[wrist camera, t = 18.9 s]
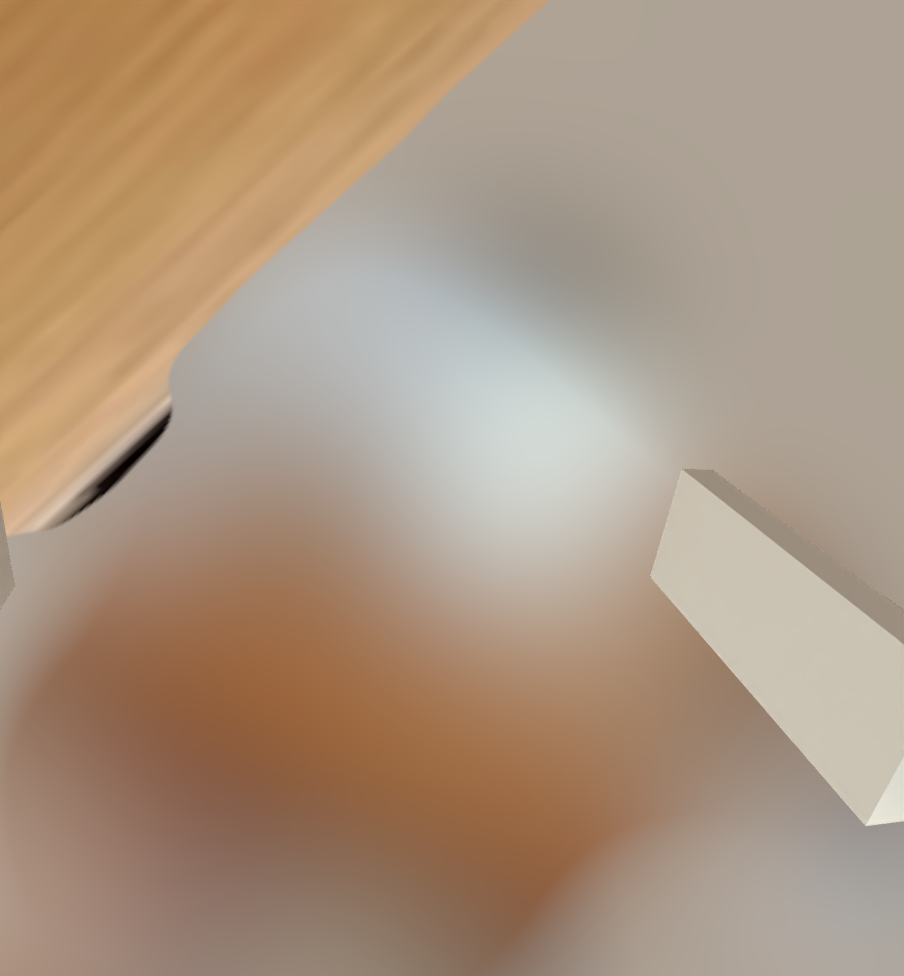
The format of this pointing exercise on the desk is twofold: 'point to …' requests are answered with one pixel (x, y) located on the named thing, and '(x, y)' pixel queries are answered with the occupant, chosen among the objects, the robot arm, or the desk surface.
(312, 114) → the desk surface
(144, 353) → the desk surface
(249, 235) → the desk surface
